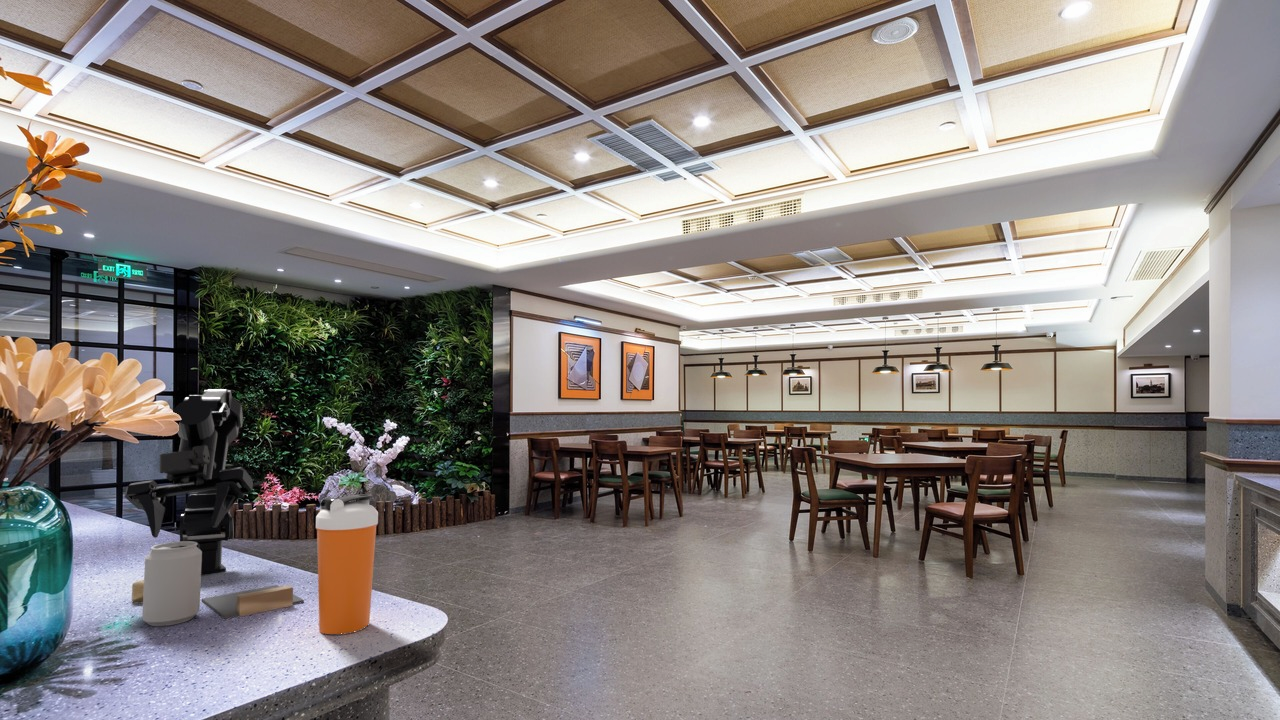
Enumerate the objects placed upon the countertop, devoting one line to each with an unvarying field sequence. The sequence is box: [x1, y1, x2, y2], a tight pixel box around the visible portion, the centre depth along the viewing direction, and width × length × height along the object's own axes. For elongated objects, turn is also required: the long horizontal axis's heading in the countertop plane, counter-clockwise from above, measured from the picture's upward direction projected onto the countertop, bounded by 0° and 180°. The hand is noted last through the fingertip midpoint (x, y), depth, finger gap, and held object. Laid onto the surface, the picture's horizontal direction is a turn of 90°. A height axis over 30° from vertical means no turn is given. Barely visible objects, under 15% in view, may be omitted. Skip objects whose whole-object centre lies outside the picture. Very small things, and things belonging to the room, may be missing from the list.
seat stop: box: [236, 585, 294, 617], centre depth 110 cm, size 2×8×3 cm, turn 137°
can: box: [141, 540, 202, 627], centre depth 105 cm, size 8×8×12 cm
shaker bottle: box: [315, 493, 379, 635], centre depth 102 cm, size 9×9×20 cm
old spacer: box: [131, 579, 144, 603], centre depth 117 cm, size 5×5×3 cm
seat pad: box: [201, 584, 305, 620], centre depth 115 cm, size 14×12×1 cm
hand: (184, 531), depth 115 cm, fingers open, 9 cm apart
